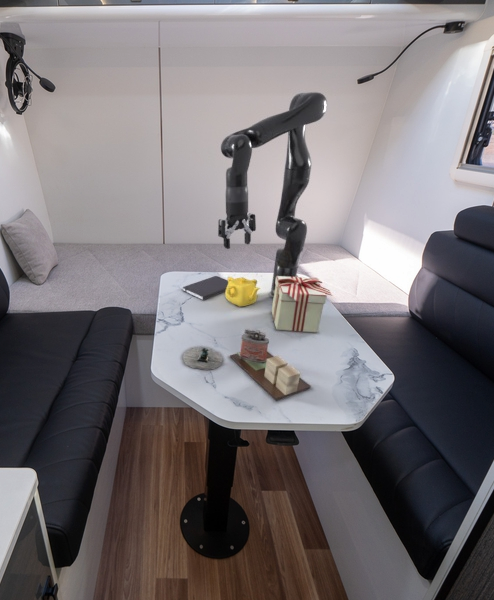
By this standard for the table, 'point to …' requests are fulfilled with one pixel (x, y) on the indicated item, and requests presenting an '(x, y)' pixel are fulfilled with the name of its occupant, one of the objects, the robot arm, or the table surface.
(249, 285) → the teapot
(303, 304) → the gift box
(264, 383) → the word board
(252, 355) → the lighter
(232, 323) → the table surface
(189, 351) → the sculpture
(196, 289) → the notebook
